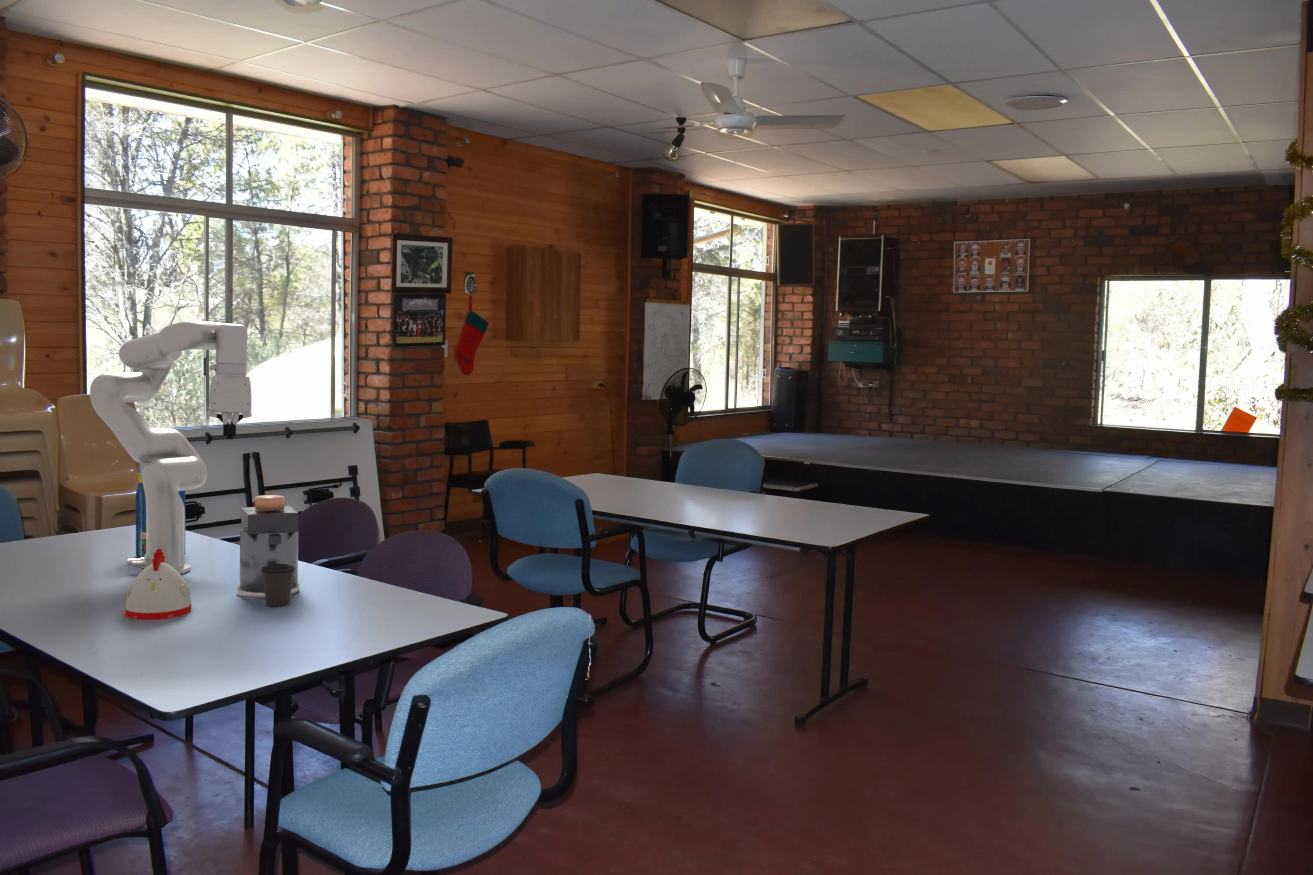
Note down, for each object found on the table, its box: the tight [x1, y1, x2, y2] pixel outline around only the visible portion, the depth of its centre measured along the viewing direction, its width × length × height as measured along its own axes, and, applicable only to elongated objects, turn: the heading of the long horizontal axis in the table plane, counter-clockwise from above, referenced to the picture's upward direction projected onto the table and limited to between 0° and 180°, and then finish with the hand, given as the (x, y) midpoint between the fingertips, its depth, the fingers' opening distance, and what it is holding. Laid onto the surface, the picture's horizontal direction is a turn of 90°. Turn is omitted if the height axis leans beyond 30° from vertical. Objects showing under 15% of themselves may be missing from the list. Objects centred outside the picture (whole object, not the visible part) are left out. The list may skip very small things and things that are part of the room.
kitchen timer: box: [124, 549, 192, 621], centre depth 226 cm, size 14×14×15 cm
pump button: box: [254, 494, 285, 511], centre depth 247 cm, size 7×7×8 cm
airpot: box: [236, 505, 301, 600], centre depth 247 cm, size 15×18×22 cm
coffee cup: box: [260, 564, 295, 609], centre depth 237 cm, size 8×8×10 cm
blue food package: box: [135, 473, 186, 559], centre depth 286 cm, size 6×12×25 cm, turn 133°
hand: (229, 438), depth 257 cm, fingers closed
